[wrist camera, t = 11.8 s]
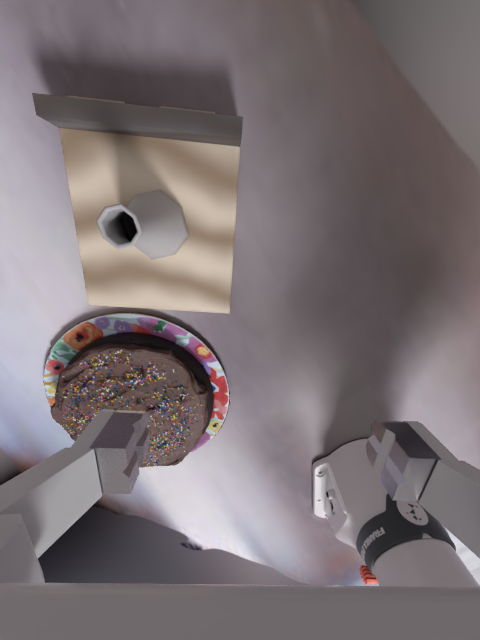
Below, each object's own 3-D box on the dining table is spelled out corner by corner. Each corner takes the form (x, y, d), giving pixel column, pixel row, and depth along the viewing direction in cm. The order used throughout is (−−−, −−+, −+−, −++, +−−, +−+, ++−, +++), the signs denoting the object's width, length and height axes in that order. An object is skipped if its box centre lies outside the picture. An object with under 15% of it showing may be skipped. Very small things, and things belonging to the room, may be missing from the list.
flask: (150, 269, 29) (113, 290, 20) (110, 213, 27) (46, 207, 17) (200, 238, 28) (186, 245, 19) (163, 176, 26) (125, 149, 16)
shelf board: (229, 309, 33) (229, 321, 29) (94, 301, 32) (74, 313, 28) (240, 130, 26) (243, 112, 21) (65, 111, 24) (31, 88, 20)
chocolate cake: (45, 288, 31) (1, 304, 25) (249, 333, 35) (253, 356, 29) (51, 442, 41) (20, 480, 35) (210, 464, 45) (207, 502, 39)
